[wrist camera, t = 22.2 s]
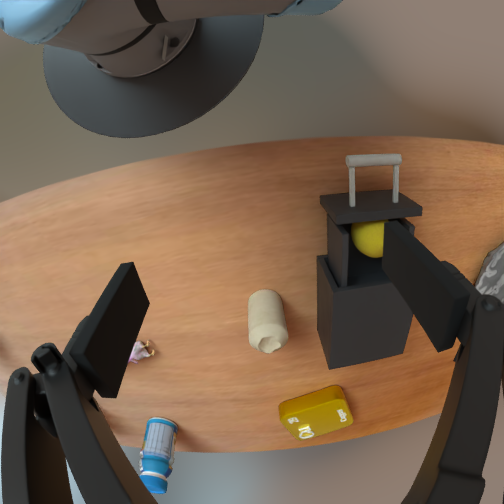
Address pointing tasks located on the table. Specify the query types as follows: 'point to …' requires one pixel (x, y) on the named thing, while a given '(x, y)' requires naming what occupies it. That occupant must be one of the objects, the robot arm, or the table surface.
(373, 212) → the drawer
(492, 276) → the brain slice
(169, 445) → the beverage bottle
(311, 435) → the element tile
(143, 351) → the pink horned figurine
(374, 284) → the cabinet
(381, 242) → the lemon
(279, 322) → the candle
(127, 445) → the table surface
